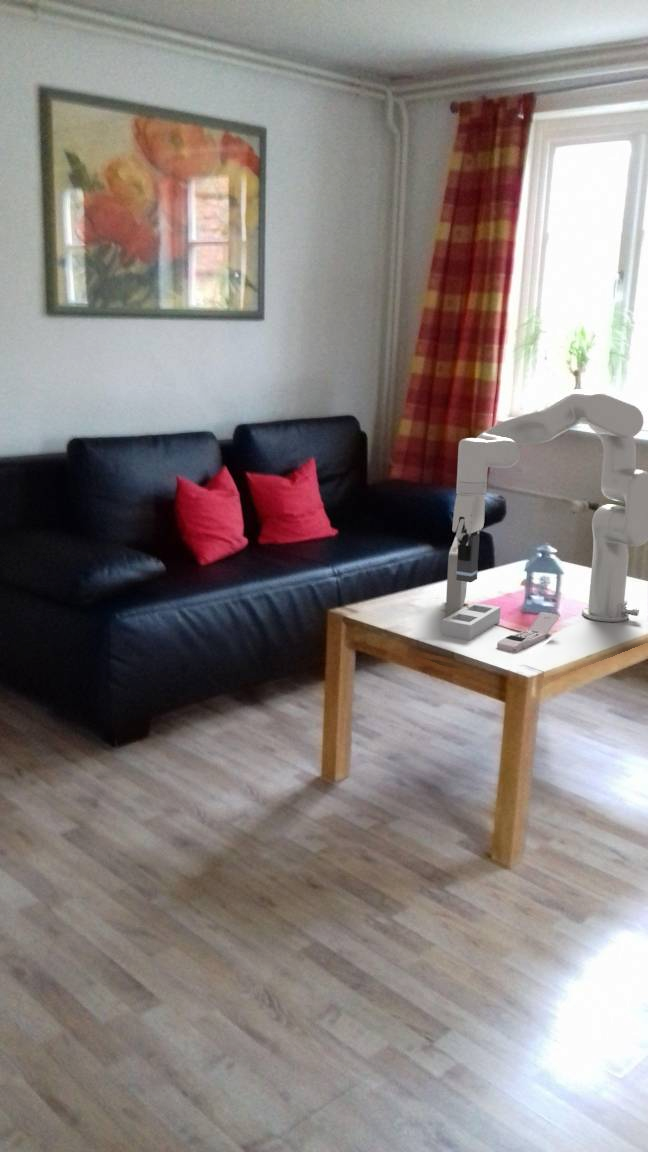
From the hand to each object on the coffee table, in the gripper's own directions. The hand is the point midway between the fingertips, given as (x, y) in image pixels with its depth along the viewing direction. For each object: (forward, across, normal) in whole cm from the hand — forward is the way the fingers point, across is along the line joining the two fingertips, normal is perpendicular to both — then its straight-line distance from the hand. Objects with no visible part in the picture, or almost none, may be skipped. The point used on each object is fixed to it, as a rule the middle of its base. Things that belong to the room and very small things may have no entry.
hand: (467, 557), depth 263 cm
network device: (+21, -18, -11) cm, 30 cm away
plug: (+6, 0, 0) cm, 6 cm away
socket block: (+21, -5, 0) cm, 22 cm away
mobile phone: (+22, -3, +16) cm, 27 cm away
